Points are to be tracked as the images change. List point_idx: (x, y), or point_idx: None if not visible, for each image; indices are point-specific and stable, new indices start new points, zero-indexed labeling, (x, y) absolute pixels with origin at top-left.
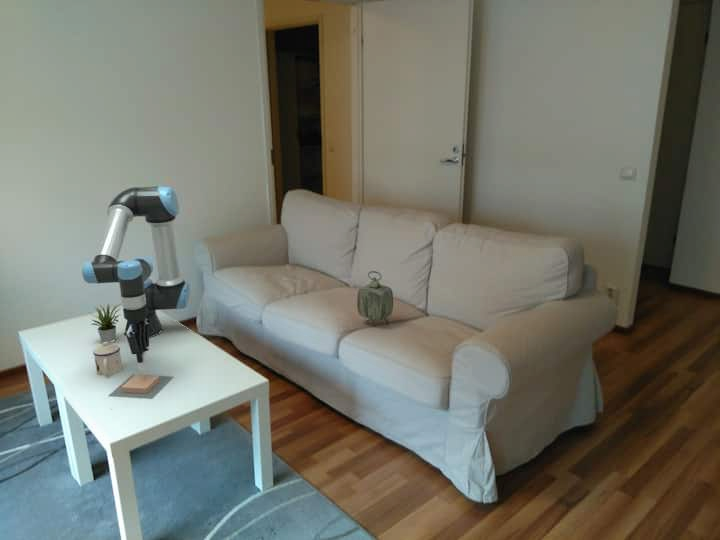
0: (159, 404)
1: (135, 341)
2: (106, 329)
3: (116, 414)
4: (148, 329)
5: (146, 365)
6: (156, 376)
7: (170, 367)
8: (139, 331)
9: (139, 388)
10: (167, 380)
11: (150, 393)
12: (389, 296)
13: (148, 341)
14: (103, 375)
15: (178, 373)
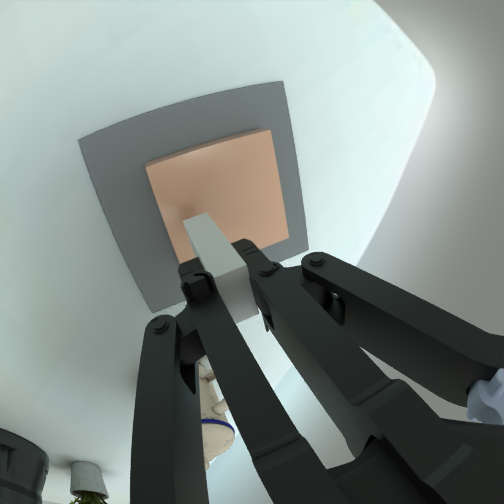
0: (297, 38)
1: (433, 316)
2: (92, 492)
3: (375, 140)
4: (146, 487)
5: (198, 226)
6: (153, 176)
7: (24, 242)
8: (442, 422)
9: (275, 160)
10: (121, 136)
11: (250, 116)
12: None
13: (152, 357)
14: (206, 370)
15: (41, 159)
